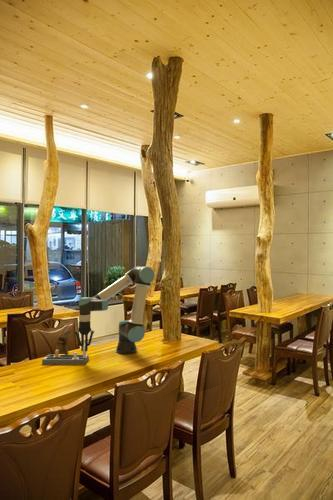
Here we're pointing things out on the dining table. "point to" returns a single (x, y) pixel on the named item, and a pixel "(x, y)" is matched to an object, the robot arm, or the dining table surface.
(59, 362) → the switch bank
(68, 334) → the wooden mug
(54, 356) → the tab ochre
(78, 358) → the tab ivory
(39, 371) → the dining table surface
